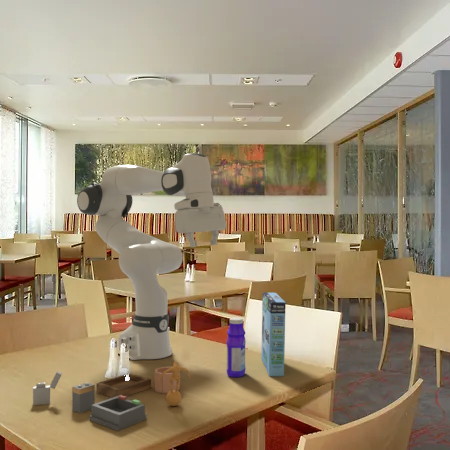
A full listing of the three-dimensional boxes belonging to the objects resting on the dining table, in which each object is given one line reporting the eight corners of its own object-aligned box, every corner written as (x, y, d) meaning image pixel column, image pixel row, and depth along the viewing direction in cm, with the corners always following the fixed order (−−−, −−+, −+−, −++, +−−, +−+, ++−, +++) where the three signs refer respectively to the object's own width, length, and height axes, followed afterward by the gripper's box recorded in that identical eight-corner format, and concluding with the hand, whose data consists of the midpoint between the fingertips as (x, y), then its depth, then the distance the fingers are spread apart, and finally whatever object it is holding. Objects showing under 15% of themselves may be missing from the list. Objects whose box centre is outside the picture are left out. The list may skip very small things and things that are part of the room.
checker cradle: (89, 420, 126) (89, 403, 125) (118, 409, 133) (118, 393, 133) (117, 430, 119) (117, 413, 119) (146, 418, 127) (146, 402, 126)
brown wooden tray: (96, 392, 145) (96, 383, 145) (129, 381, 155) (129, 373, 155) (118, 399, 140) (118, 390, 140) (150, 387, 149) (150, 379, 149)
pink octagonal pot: (149, 389, 147) (149, 370, 147) (167, 383, 153) (167, 365, 153) (167, 395, 143) (167, 375, 143) (184, 388, 148) (184, 369, 148)
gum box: (261, 359, 179) (261, 292, 179) (276, 359, 180) (276, 292, 179) (268, 376, 160) (269, 301, 159) (285, 376, 160) (286, 301, 160)
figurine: (187, 401, 139) (187, 356, 138) (193, 409, 133) (193, 362, 132) (156, 404, 136) (156, 358, 136) (160, 413, 130) (160, 365, 130)
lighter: (32, 405, 135) (32, 374, 135) (33, 402, 137) (33, 372, 137) (61, 402, 137) (61, 372, 137) (62, 400, 139) (62, 370, 139)
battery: (72, 410, 132) (72, 385, 132) (87, 405, 135) (87, 380, 135) (79, 413, 130) (79, 387, 130) (94, 408, 133) (94, 383, 133)
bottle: (243, 379, 158) (243, 321, 157) (224, 377, 159) (224, 320, 158) (247, 371, 165) (247, 316, 164) (229, 370, 166) (229, 315, 165)
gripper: (214, 203, 178) (218, 244, 178) (170, 204, 163) (174, 249, 162) (228, 201, 174) (232, 243, 174) (184, 202, 159) (188, 247, 158)
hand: (203, 246), depth 168 cm, fingers open, 8 cm apart
